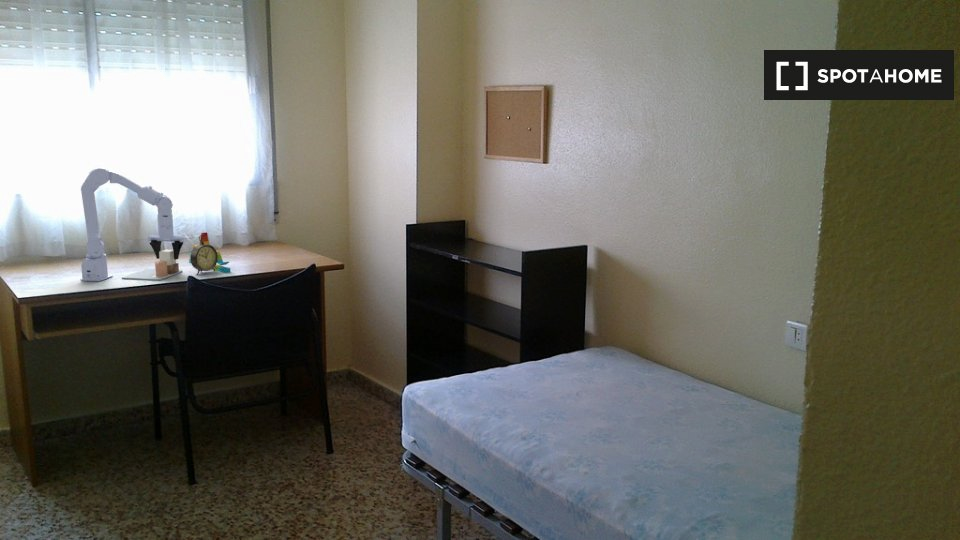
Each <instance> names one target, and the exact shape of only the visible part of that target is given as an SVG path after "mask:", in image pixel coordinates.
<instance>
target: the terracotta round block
mask: <svg viewBox="0 0 960 540" xmlns="http://www.w3.org/2000/svg"><path fill="white" fill-rule="evenodd" d="M154 269H155V270H156V276H157V277H165V276H168V273H167V262H166V261H160V260H158V261H155V262H154Z"/></svg>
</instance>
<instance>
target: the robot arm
mask: <svg viewBox="0 0 960 540" xmlns="http://www.w3.org/2000/svg"><path fill="white" fill-rule="evenodd" d="M108 182H109V184H119V185H120V186H123V187H125V188H127V189H128V190H130V191H132V192H134V193H136V194H137V197H138V199H141V200H142V201H144V202H146V203H148V204H149V205H151V206H155V207H157V215H156V216H157V229H158V230H157V232H158V233H157V234H158V235H149V236H147V237H148V238H147V239H148V241H149V245H150V247H151V248H152V250H153V252H154V254H155V257H156V259H157V260H160V257H159V251H162V242H171V245H172V250H173V251H174V260H176V261H177V260H179V257H180V256H179V255H180V252H181V249H182V248H183V245H184V242H185V236H179V235H178V236H177V235H175V234H174V233H175V232H174V222H173V221H174V219H173V205H174V204H173V201H172V200H171V198H170V197H169V196H167V195H164V193H162V192H159V191H157V190H155V189H153V187H152V186H151V185H139V184H138V183H136V182H134V181H132V180H131V179H129V178H127V177H126V176H124V175H123V174H121V173H119V172H116V171H114V170H113V169H108V168H107V167H104V166H101V165H100V166H96V167H94V168H93V169H92V170H91V171H90V172H89V173H88V175H87V176H86V178H85V180H84V181H83V183H82V185H81V186H80V192H81V201H82V205H83V213H84V220H85V227H86V236H87V244H86V252H87V253H86V255H85V256H86V257H85V259H83V260H82V262H81V277H82V278H80V281H83V282H84V281H85V282H86V281H87V282H101V281H104V280H107V279H109V278H113V277H114V276H113V275H111V274H110V275H109V273H108V259H107V254H106V253H105V242H104V241H103V240H102V237H101V231H100V224H99V217H98V211H97V201H96V195H95V192H96V191H97V190H98V189H99V188H100V187H101V186H103V185H105V184H107V183H108Z"/></svg>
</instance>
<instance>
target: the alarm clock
mask: <svg viewBox="0 0 960 540" xmlns="http://www.w3.org/2000/svg"><path fill="white" fill-rule="evenodd" d="M201 235H204V234H200V235H199V237H198V241H199V243H200V242H201V245H200V244H196V245H197V246H196V247H195V248H194V249H193V248H192V250H191V252H190V253H191V256H190V255H189V256H190V257H189V259H190V260H191V263H190V264H191V266H192V267H193V269H195V270H197V273H196V275H197V276H199V274H200V273H202V272H210V271H212V269H213V272H216V270H214V267H215V266H216V264H217V260H218V255H217V252H218V251H217V250H216V248H215V247H214V246H213V245H204V243H203V242H204V241H205V240H204V241H200V239H201ZM204 237H205V235H204ZM205 238H206V237H205ZM217 265H218V264H217Z"/></svg>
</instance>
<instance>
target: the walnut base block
mask: <svg viewBox="0 0 960 540" xmlns="http://www.w3.org/2000/svg"><path fill="white" fill-rule="evenodd" d="M179 267H180V266H179V262H176V263H175V264H173V265H167V273H168V274H173V273H176V272H179V270H180V268H179Z"/></svg>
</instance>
